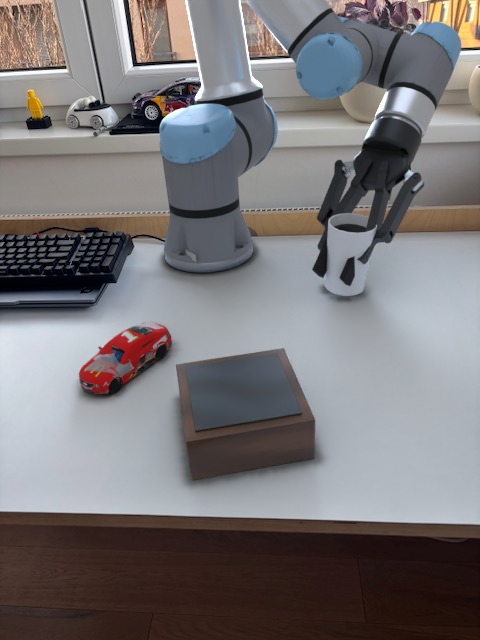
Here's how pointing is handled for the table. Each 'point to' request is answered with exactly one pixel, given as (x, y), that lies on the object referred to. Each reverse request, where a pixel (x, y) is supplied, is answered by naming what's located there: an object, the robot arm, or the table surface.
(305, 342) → the table surface
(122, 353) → the race car
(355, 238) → the white coffee cup
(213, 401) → the stand
